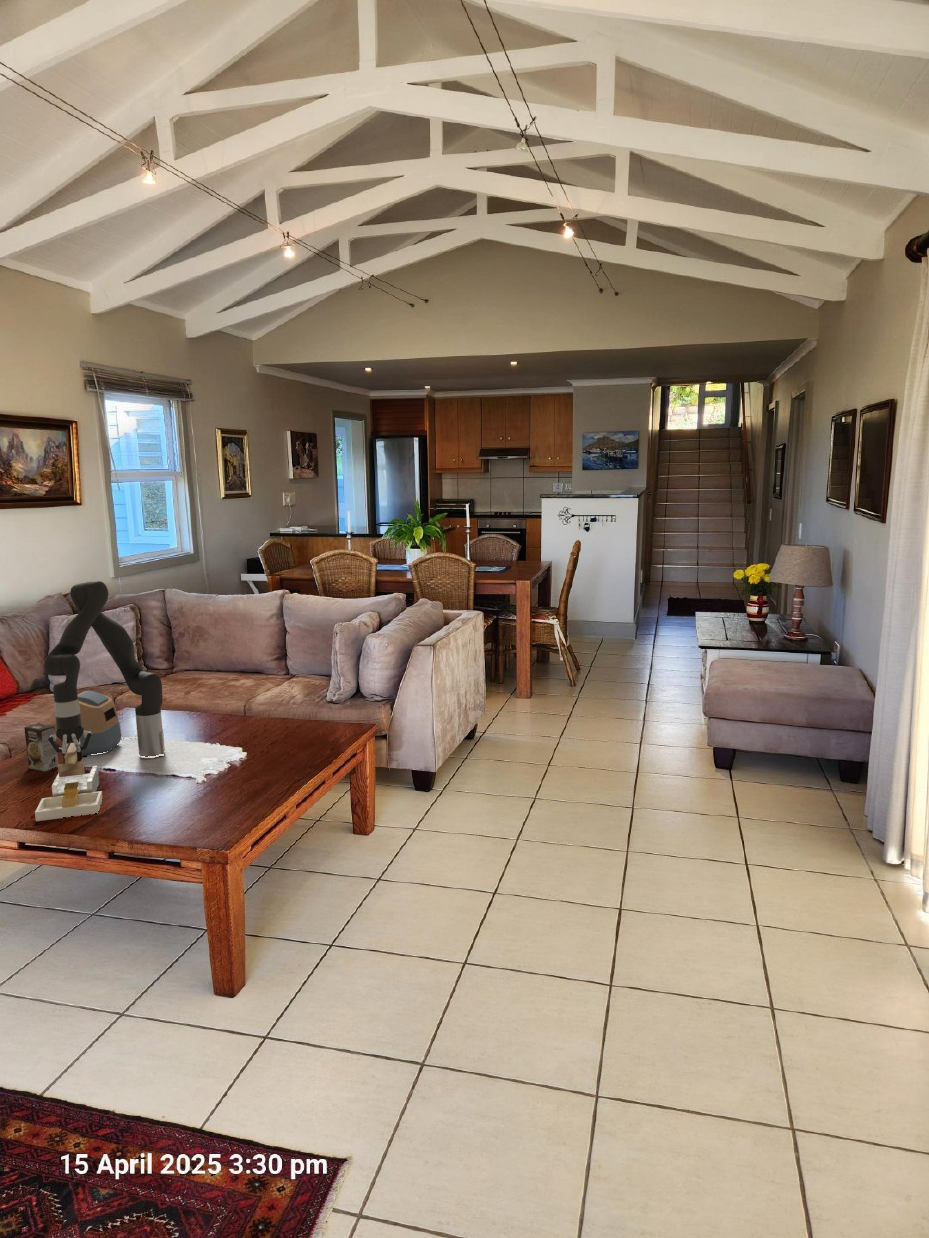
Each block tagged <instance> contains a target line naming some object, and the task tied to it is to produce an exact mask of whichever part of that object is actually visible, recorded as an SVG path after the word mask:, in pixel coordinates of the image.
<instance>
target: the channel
mask: <svg viewBox="0 0 929 1238" xmlns="http://www.w3.org/2000/svg"><path fill="white" fill-rule="evenodd" d="M99 775H100V774H99V767H98V765H93V766H92V767H91V769H90V772H89V773H84V774H83V775H75V776H67V777H59V772H58V774H57V775H56V777H55V779H54V781H53V783H52V785H51V791H52V797H57V796H63V795H64V787H65V784H66V783H73V782H79V786H80V794H82V793H91V792H98V791H97V790H98V788H99V785H100V776H99ZM97 787H98V788H97Z"/></svg>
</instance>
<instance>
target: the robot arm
mask: <svg viewBox="0 0 929 1238" xmlns="http://www.w3.org/2000/svg"><path fill="white" fill-rule="evenodd" d="M69 594H70V598H71V600H72V603H73V605H74V606H75V608H76V609H77V610H78V614H77V615H75V617H73V618H72V619H71V621H70V622H69V623H68V624H67V626H66V627H65V628H64V630H63V632H62V635H61V637H60V639H59V641H58V643H57V644H56V645H55V646H54V647H53V649H52V650H51V651H50V652H49V653H48V655H47V656H46V658H45V659H44V663H43V669H44V671H45V674H47V675H48V676H51V677H62V676H65V679H64V680H63V681H60V682H57V683H54V685H53V686H52V691H53V700H54V716H55V718H54V719H55V723H56V724H55V727H56V730H55V732H56V734H54V735H50V736H49V738H48V740H49V742H50V743H51V745H52V746H53V748H54V749H55V751H56V752H57V753H58V754H59V753H61V754H62V760H63V763H65V758H64V756H65V754H66V752H67V750H68V748H67V745H68V743H70V742H71V743H74V744H75V746H76V750H77V761H78V762H79V761H81V760H82V761H83V759H84V758H83V755H82V750H85V749H86V748H87V745H88V743H89V740H90V737H91V735H92V731H89V732H88V731H85V730H84V729H83V727H82V723H81V714H80V706H79V701H78V681H79V673H80V669H81V661H80V659H79V658H78V656H77V654H79V653H80V652H81V649H82V648H83V645H84V643H85V640H86V637H87V635H88V632H89V631H90V630H91V628H92V629H93V631H94V632H95V633H96V635H97V636H98V638H99V639H100V641H101V643H102V645H103V647H104V648H105V649H106V652H108V654H109V655H110V657H111V658H112V660H113V661H114V663H115V664H116V666H117V668H118V669H119V670H120V673H121V674H122V677H123V679H124V681H125V683H126V685H127V687H128V688H129V690H130V691H131V692H132V693H133V694H135V695H137V696H141V703H139V704H137V705H136V706H135V710H134V711H135V725H136V734H137V735H136V736H137V747H138V756H139V755H140V756H145V757H148V756H156V755H159V754H164V751H165V752H166V749H165V737H164V735H165V734H164V728H163V718H162V706H163V682H162V680H161V679H162V678H161V677H160V675H158V673H154V672H150V671H144V670H143V669H142V667H141V665H140V664H139V663H138V661H137V660H136V656H135V644H134V642H133V640H132V638H131V636H130V634H129V633H128V631H127V630H126V629H125V627H124V626H123V625H121V624H120V623H119V622H117V621H115V620H114V619H112V618H110V617H109V616H107V615H106V614H105V613H103V612H102V610H103V608H104V606H105V605H106V604H107V602H108V599H109V589H108V587H107V585H106V584H105V582H103V581H102V580H91V581H85V582H80V583H77V584H75V585H72V586H71V588H70V592H69ZM82 734H84V737H85V738H86V739H85V742H84V745H82V746H81V744H80V740H79V739H80V737H81V736H82ZM57 738H58V739H59V740H60V741H61V742H62V746H61V745H60V744H59V743H58V741H57ZM164 755H165V754H164Z"/></svg>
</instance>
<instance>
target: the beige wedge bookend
mask: <svg viewBox="0 0 929 1238" xmlns="http://www.w3.org/2000/svg"><path fill="white" fill-rule="evenodd" d="M80 744H81V743H80ZM64 758H65V762H63V763H58V767H57V770H58V771H57V772H58V773H59V777H67V776H75V775H83V774H86V770H85V762H84V760H83V759H82V760H81V761H79V762H78V761H77V750H76V746H75V744H74V743H71V744H70V746H69V748H67V752H66V754H65V756H64Z"/></svg>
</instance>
